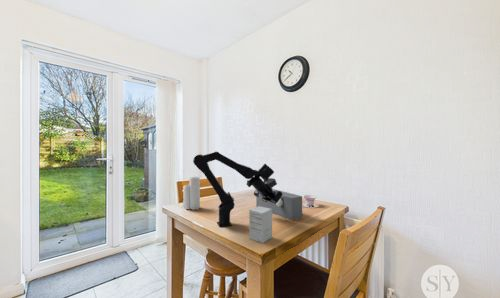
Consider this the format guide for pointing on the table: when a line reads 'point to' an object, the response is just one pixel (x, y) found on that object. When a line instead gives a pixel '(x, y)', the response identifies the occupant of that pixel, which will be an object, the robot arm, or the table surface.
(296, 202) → the console
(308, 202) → the teacup
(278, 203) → the cream button
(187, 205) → the candle
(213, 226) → the table surface
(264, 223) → the supplement box
